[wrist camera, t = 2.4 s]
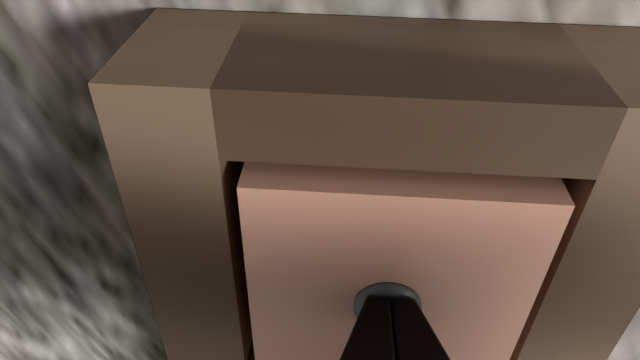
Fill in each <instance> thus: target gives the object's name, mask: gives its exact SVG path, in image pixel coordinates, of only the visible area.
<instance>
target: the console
mask: <svg viewBox="0 0 640 360" xmlns="http://www.w3.org/2000/svg"><path fill="white" fill-rule="evenodd" d="M88 87H89V90H90V94H91V97H92V100H93V104H94V107H95V111H96V114H97V118H98V121H99V125H100V128H101V132H102V135H103V138H104V142H105V145H106V149H107V152H108V156H109V159H110V163H111V166H112V170H113V173H114V176H115V180H116V183H117V187H118V190H119V194H120V197H121V201H122V204H123V208H124V211H125V214H126V218H127V221H128V225H129V228H130V232H131V235H132V239H133V242H134V246H135V249H136V252H137V256H138V259H139V263H140V266H141V270H142V273H143V277H144V280H145V284H146V287H147V290H148V294H149V297H150V301H151V304H152V308H153V311H154V315H155V318H156V321H157V325H158V328H159V332H160V335H161V339H162V342H163V346H164V349H165V353H166V356H167V359H168V360H255V355H254V346H253V337H252V327H251V318H250V308H249V299H248V290H247V280H246V271H245V262H244V252H243V243H242V233H241V224H240V215H239V205H238V196H237V185H238V182H239V178H240V175H241V172H242V169H243V165H244V162H261V163H281V164H300V165H320V166H339V167H358V168H378V169H397V170H417V171H436V172H455V173H475V174H494V175H513V176H533V177H552V178H561V179H562V181H563V183H564V185H565V187H566V189H567V191H568V193H569V195H570V197H571V199H572V201H573V202H574V204H575V208H574V210H573V212H572V215H571V217H570V219H569V222H568V224H567V226H566V229H565V231H564V233H563V236H562V238H561V240H560V243H559V245H558V247H557V250H556V252H555V254H554V257H553V259H552V261H551V264H550V266H549V269H548V271H547V273H546V276H545V278H544V280H543V283H542V285H541V287H540V290H539V292H538V294H537V297H536V299H535V301H534V304H533V306H532V308H531V311H530V313H529V315H528V318H527V320H526V322H525V325H524V327H523V329H522V332H521V334H520V337H519V339H518V341H517V344H516V346H515V348H514V351H513V353H512V355H511V358H510V360H607V358H608V357H609V355H610V354H611V352H612V351H613V349H614V347H615V346H616V344H617V343H618V341H619V339H620V338H621V336H622V335H623V333H624V331H625V330H626V328H627V327H628V325H629V324H630V322H631V320H632V319H633V317H634V316H635V314H636V312H637V311H638V309H639V308H640V27H619V26H594V25H569V24H544V23H519V22H493V21H468V20H443V19H418V18H393V17H367V16H342V15H317V14H292V13H267V12H241V11H216V10H191V9H166V8H156V9H155V10H154V11H153V12H152V14H151V15H150V16H149V17H148V18H147V19H146V20H145V21H144V22H143V23H142V24H141V25H140V27H139V28H138V29H137V30H136V31H135V32H134V33H133V34H132V35H131V36H130V37H129V39H128V40H127V41H126V42H125V43H124V44H123V45H122V46H121V47H120V48H119V49H118V51H117V52H116V53H115V54H114V55H113V56H112V57H111V58H110V59H109V60H108V61H107V63H106V64H105V65H104V66H103V67H102V68H101V69H100V70H99V71H98V72H97V73H96V74H95V76H94V77H93V78H92V79H91V80H90V81H89V82H88Z"/></svg>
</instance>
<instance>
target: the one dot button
mask: <svg viewBox="0 0 640 360" xmlns="http://www.w3.org/2000/svg"><path fill="white" fill-rule="evenodd" d="M237 196H238V205H239V215H240V224H241V233H242V243H243V252H244V262H245V271H246V280H247V290H248V299H249V308H250V318H251V327H252V337H253V346H254V355H255V360H340V357H341V355H342V353H343V350H344V348H345V346H346V343H347V341H348V338H349V336H350V334H351V331H352V329H353V327H354V324H355V322H356V320H357V317H358V315H359V312H360V310H361V308H362V305H363V303H364V301H365V298H366V297H367V296H368V295H383V296H388V297H389V298H390V299H391V298H392V297H394V296H399V297H411V298H414V299H415V300H416V302H417V303H418V305H419V307H420V308H421V310H422V312H423V313H424V315H425V317H426V318H427V320H428V322H429V324H430V325H431V327H432V329H433V330H434V332H435V334H436V336H437V337H438V339H439V341H440V342H441V344H442V346H443V348H444V349H445V351H446V353H447V354H448V356H449V358H450V359H451V360H510V358H511V355H512V353H513V351H514V348H515V346H516V344H517V341H518V339H519V337H520V334H521V332H522V329H523V327H524V325H525V322H526V320H527V318H528V315H529V313H530V311H531V308H532V306H533V304H534V301H535V299H536V297H537V294H538V292H539V290H540V287H541V285H542V283H543V280H544V278H545V276H546V273H547V271H548V269H549V266H550V264H551V261H552V259H553V257H554V254H555V252H556V250H557V247H558V245H559V243H560V240H561V238H562V236H563V233H564V231H565V229H566V226H567V224H568V222H569V219H570V217H571V215H572V212H573V210H574V208H575V204H574V202H573V201H572V199H571V197H570V195H569V193H568V191H567V189H566V187H565V185H564V183H563V181H562V179H561V178H552V177H533V176H513V175H494V174H475V173H455V172H436V171H417V170H397V169H378V168H358V167H339V166H320V165H300V164H281V163H261V162H244V165H243V169H242V172H241V175H240V178H239V182H238V185H237Z"/></svg>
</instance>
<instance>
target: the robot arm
mask: <svg viewBox="0 0 640 360" xmlns="http://www.w3.org/2000/svg"><path fill="white" fill-rule="evenodd" d="M340 360H451V359H450V358H449V356H448V354H447V353H446V351H445V349H444V348H443V346H442V344H441V342H440V341H439V339H438V337H437V336H436V334H435V332H434V330H433V329H432V327H431V325H430V324H429V322H428V320H427V318H426V317H425V315H424V313H423V312H422V310H421V308H420V307H419V305H418V303H417V302H416V300H415V299H414V298H411V297H399V296H394V297H392V298H391V299H390V298H389V297H388V296H383V295H368V296H367V297H366V298H365V301H364V303H363V305H362V308H361V310H360V312H359V315H358V317H357V320H356V322H355V324H354V327H353V329H352V331H351V334H350V336H349V338H348V341H347V343H346V346H345V348H344V350H343V353H342V355H341V357H340Z"/></svg>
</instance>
